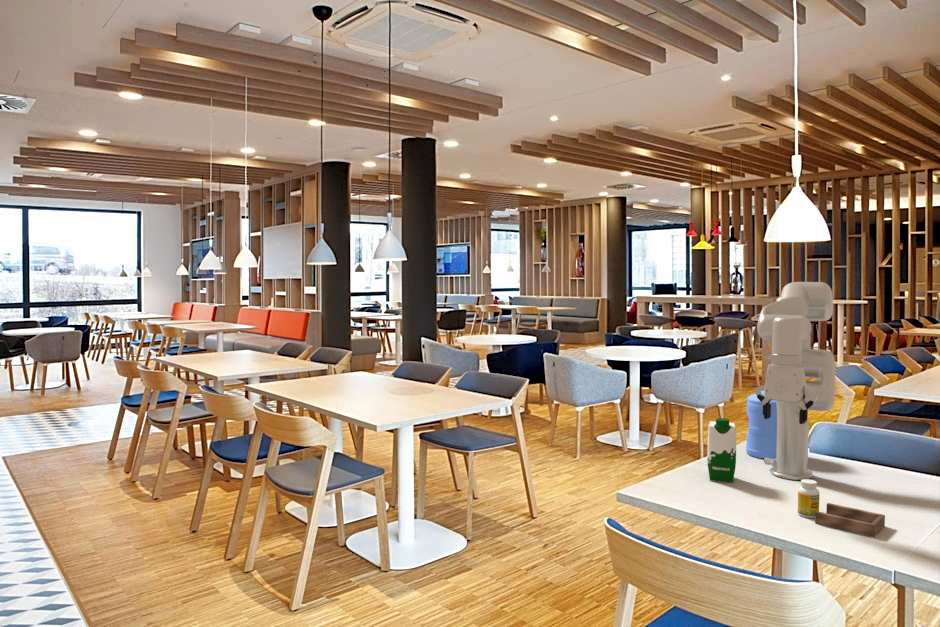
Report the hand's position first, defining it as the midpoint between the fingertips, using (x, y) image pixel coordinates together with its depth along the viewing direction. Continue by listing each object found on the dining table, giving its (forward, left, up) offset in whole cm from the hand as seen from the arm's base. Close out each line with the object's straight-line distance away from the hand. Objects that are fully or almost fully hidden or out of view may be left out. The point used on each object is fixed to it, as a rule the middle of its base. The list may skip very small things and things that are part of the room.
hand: (784, 420), depth 197 cm
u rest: (+18, -1, -25) cm, 31 cm away
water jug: (-25, +55, -25) cm, 65 cm away
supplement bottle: (+7, -1, -25) cm, 27 cm away
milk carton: (-25, +15, -25) cm, 38 cm away
